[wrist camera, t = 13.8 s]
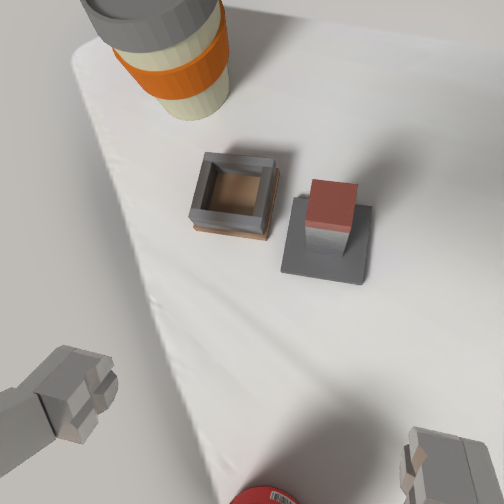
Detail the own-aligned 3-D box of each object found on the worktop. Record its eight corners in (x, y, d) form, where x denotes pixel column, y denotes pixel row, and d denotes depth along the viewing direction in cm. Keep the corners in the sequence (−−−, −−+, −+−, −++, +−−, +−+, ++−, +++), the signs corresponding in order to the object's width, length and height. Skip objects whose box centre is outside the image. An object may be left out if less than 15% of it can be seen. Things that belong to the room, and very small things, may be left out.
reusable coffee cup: (163, 149, 44) (91, 49, 29) (136, 73, 48) (62, -47, 33) (259, 107, 43) (233, -15, 29) (224, 34, 47) (186, -105, 33)
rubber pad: (370, 210, 37) (372, 206, 37) (361, 285, 36) (362, 283, 35) (294, 201, 39) (293, 197, 38) (281, 272, 37) (280, 270, 36)
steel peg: (347, 224, 36) (357, 184, 28) (341, 257, 36) (351, 226, 27) (312, 219, 37) (312, 179, 29) (306, 251, 36) (304, 220, 28)
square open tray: (279, 173, 40) (276, 156, 37) (266, 240, 38) (262, 229, 35) (212, 165, 42) (203, 149, 39) (195, 230, 40) (185, 219, 37)
